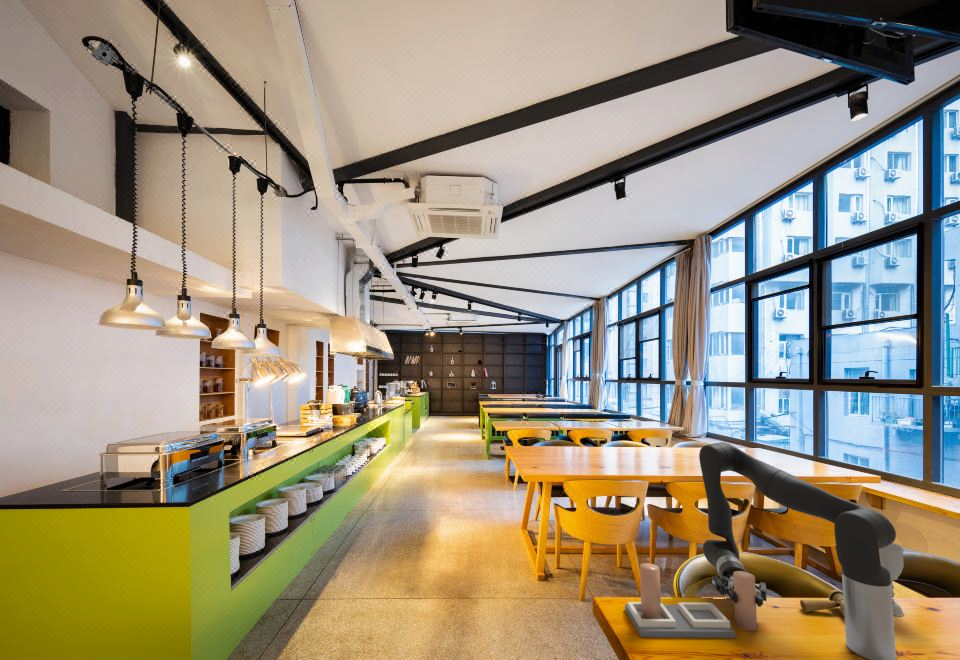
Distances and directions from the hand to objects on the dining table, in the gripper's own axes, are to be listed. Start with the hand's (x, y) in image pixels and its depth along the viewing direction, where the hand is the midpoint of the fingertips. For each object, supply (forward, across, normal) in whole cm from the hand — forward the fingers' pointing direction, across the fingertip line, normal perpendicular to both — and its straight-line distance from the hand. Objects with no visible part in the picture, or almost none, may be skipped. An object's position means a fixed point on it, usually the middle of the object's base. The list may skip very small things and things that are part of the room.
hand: (747, 601), depth 119 cm
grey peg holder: (+2, -18, +8) cm, 19 cm away
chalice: (-24, +42, +8) cm, 48 cm away
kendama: (-18, +26, +8) cm, 33 cm away
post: (-3, 0, +8) cm, 8 cm away
